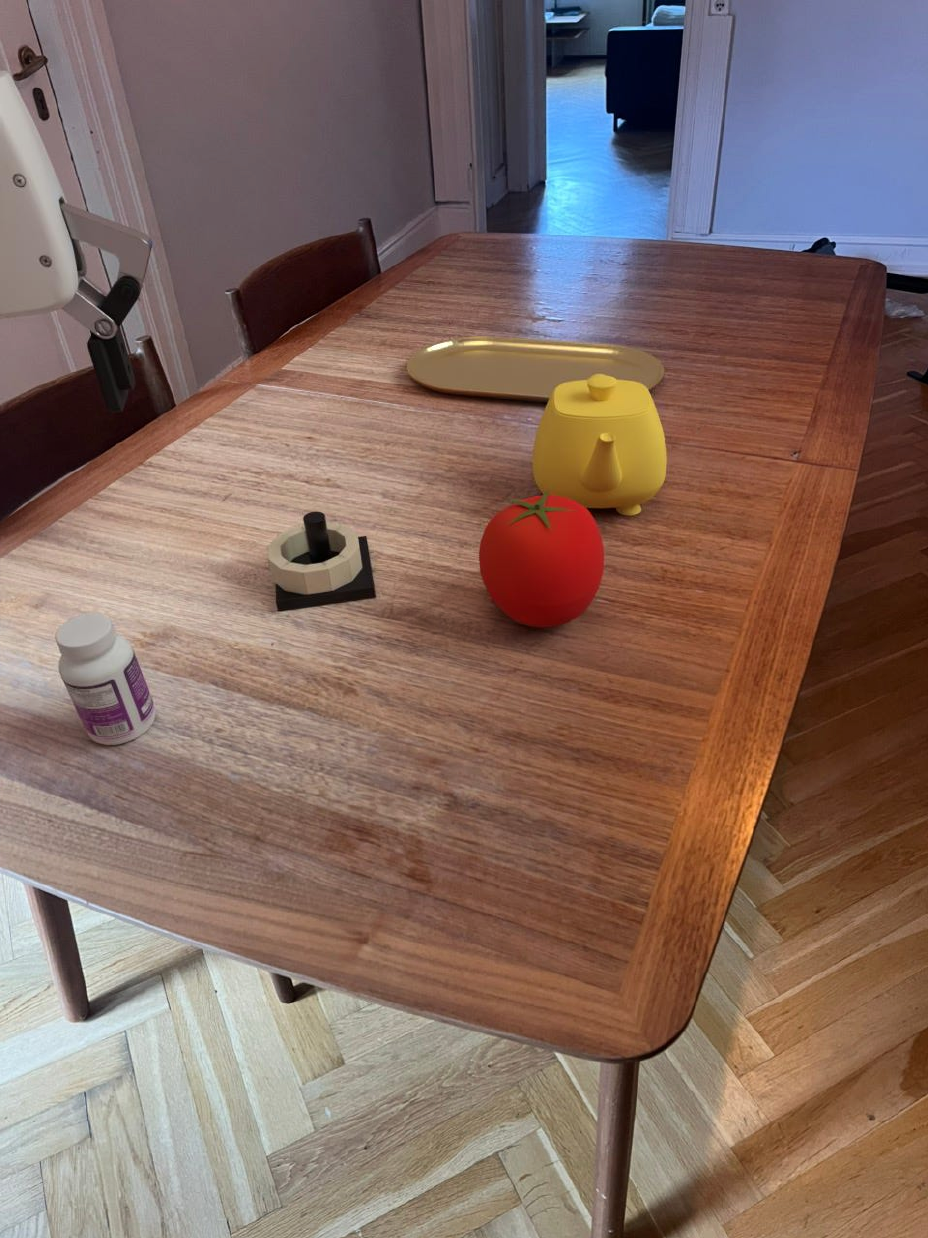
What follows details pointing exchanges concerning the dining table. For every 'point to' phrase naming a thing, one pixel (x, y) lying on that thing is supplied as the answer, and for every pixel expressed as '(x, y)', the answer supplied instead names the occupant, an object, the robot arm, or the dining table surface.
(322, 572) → the tape roll
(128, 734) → the pill bottle
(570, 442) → the teapot
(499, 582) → the tomato
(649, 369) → the serving platter
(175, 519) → the dining table surface
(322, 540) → the peg stand
